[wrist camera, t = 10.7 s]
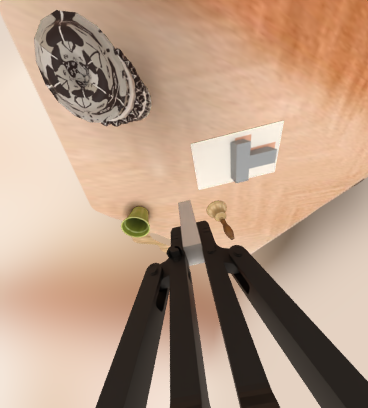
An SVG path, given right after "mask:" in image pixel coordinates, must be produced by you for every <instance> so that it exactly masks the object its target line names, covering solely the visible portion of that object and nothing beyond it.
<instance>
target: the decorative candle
mask: <svg viewBox="0 0 368 408" xmlns="http://www.w3.org/2000/svg"><path fill="white" fill-rule="evenodd" d="M34 42H35V54H36V62H37V65H38V67H39V70H40V72H41V75H42V77H43V80H44V82H45V84H46V86H47V87H48V88H49V90H50V91H51V92H52V94H53V95H54V97H55V98H56V99H57V101H58V102H59V103H60V104H61V105H63V106H64V107H65V108H66V109H67V110H69V111H70V112H71V113H72V114H73V115H75V116H77V117H79V118H82V119H84V120H86V121H88V122H98V123H101V124H103V125H105V126H108V125H110V124H112V125H113V126H119V125H121V124H127V123H129V122H133V121H140V120H142V119H144V118H146V117H147V116H148V114H149V113H150V110H151V106H152V105H151V96H150V94H149V91H148V88H147V87H146V86H145V85H144V83H143V82H142V80H141V79H140V77H139V75H137V72H136V70H135V68H134V67H133V66H132V63H131V62H130V61H129V60H128V59H127V58H126V57H125V56H124V55H123V53H122V51H121V50H120V49H118V48H116V49H115V48H114V46H113V45H112V43H111V42H110V41H109V40H108V38H107V37H106V35H105V34H103V32H102V31H101V30H100V29H99V28H98V26H96V25H95V24H93V23H92V22H90V21H89V20H87V19H86V18H84V17H82V16H81V15H79V14H78V13H75V12H66V11H58V10H56V11H54V12H53V13H51V14H50V15H48V16H46V17H45V18H43V19H42V20H41V21H40V24H39V27H38V29H37V32H36V35H35V38H34Z"/></svg>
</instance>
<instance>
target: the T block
mask: <svg viewBox="0 0 368 408" xmlns="http://www.w3.org/2000/svg"><path fill="white" fill-rule="evenodd" d="M230 146H231V179H232V180H233V181H234V182H235V183H239V182H244V181H248V177H249V169H250V168H254V167H259V166H263V165H267V164H271V163H275V159H276V154H277V149H275V148H272V147H268V146H267V147H263V148H259V149H255V150H250V149H251V141H249V140H245V139H241V140H237V141H233V142H230Z"/></svg>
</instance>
